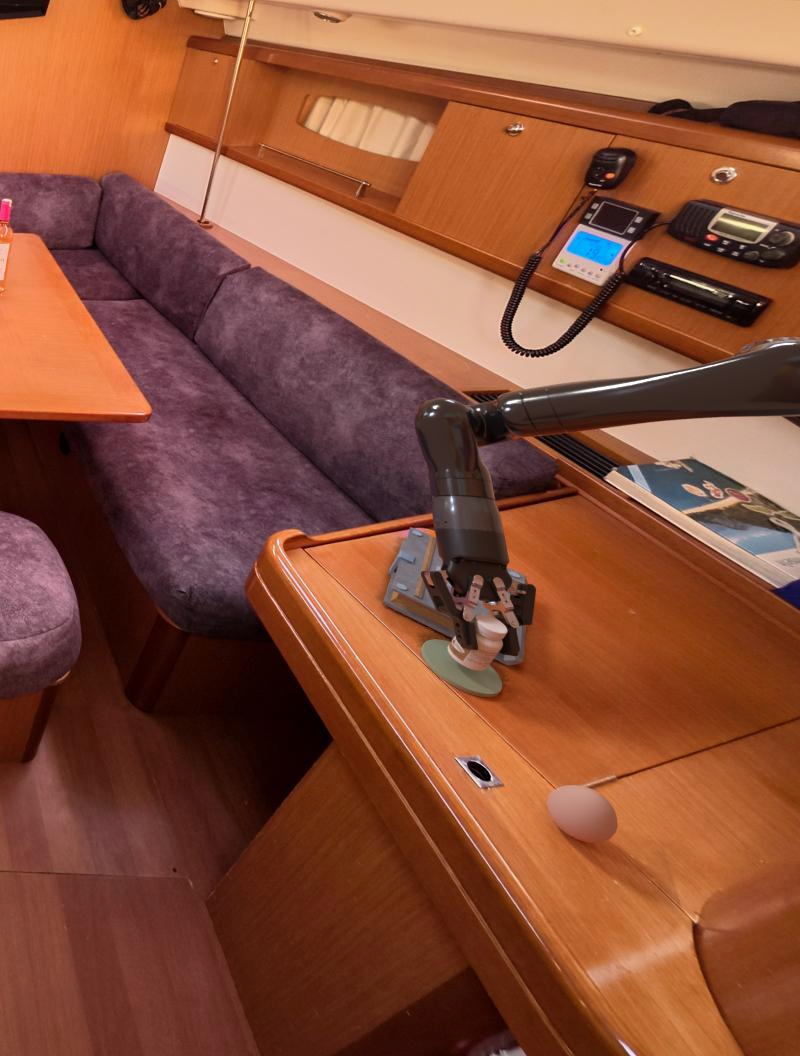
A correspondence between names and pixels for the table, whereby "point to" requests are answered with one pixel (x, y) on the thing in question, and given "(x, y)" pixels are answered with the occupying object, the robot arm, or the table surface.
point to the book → (413, 595)
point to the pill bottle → (480, 643)
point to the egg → (582, 813)
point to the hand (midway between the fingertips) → (489, 651)
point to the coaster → (460, 671)
